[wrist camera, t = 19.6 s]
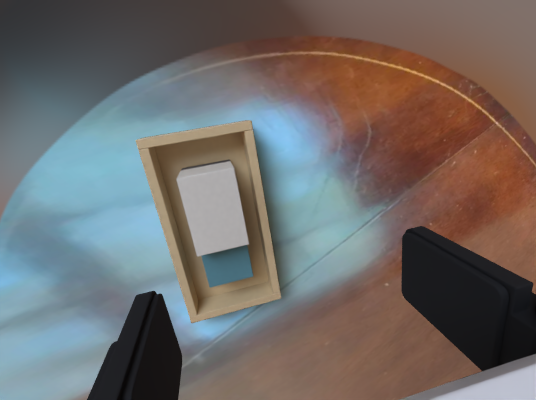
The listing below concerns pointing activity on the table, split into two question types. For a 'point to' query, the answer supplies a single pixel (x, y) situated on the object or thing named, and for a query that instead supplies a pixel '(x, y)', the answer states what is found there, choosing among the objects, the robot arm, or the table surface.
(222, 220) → the two-tone stepped block
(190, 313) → the wooden tray
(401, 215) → the table surface
